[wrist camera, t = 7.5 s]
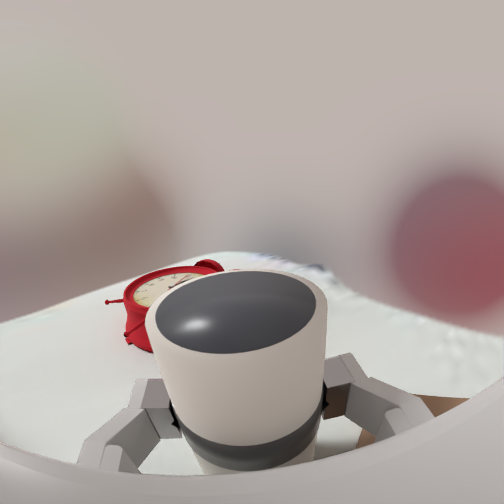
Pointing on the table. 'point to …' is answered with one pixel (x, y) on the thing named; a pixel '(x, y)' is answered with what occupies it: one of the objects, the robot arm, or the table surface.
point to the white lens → (243, 366)
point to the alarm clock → (156, 296)
